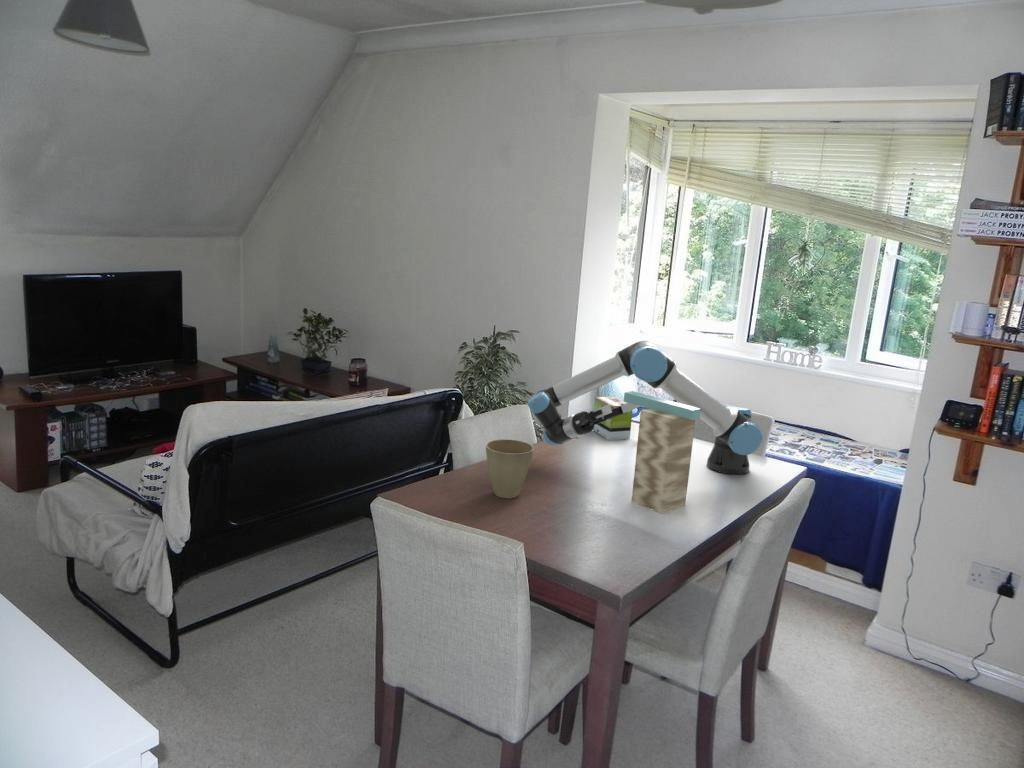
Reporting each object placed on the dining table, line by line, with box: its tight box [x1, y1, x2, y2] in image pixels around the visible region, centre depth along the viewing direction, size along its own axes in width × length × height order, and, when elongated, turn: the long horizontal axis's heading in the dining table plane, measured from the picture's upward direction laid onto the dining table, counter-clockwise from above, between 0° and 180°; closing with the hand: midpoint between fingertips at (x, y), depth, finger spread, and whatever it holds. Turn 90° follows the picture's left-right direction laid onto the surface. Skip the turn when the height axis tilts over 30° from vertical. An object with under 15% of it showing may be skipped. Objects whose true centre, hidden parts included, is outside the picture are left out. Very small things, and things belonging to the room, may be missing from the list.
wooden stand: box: [631, 408, 696, 515], centre depth 245 cm, size 12×12×30 cm
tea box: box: [592, 395, 633, 441], centre depth 323 cm, size 15×10×15 cm
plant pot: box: [485, 438, 534, 499], centre depth 245 cm, size 15×15×16 cm
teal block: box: [623, 390, 701, 421], centre depth 243 cm, size 26×4×3 cm, turn 43°
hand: (623, 405), depth 253 cm, fingers open, 13 cm apart
